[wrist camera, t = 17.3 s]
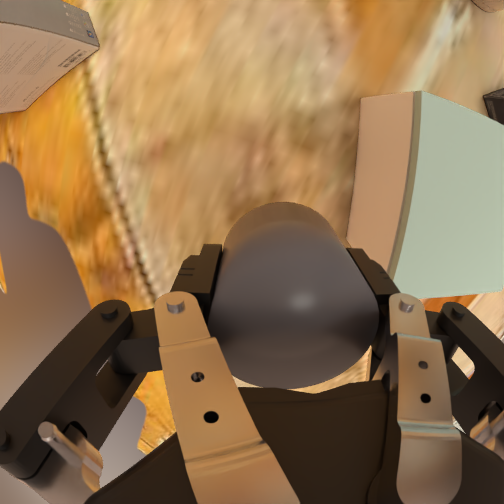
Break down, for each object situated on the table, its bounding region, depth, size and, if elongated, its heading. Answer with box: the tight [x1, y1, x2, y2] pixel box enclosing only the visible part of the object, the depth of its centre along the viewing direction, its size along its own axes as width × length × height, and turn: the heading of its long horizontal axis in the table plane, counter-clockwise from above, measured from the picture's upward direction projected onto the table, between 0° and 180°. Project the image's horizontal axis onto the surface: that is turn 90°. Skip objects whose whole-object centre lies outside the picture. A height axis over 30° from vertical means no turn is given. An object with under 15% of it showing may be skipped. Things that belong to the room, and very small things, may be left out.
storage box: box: [346, 92, 415, 275], centre depth 26 cm, size 18×18×12 cm
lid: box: [389, 91, 504, 299], centre depth 20 cm, size 18×18×1 cm
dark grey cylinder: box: [207, 202, 379, 389], centre depth 10 cm, size 5×5×5 cm
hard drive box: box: [0, 0, 99, 114], centre depth 14 cm, size 16×8×20 cm, turn 111°
